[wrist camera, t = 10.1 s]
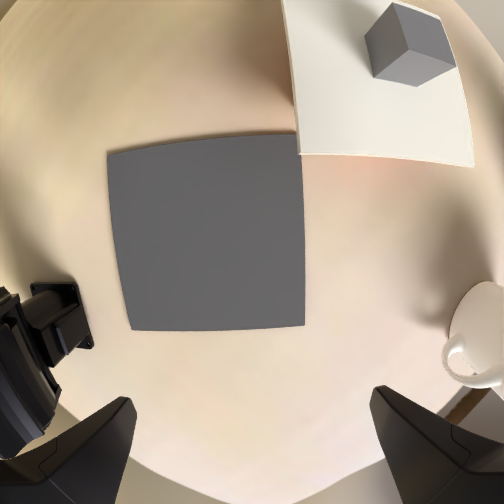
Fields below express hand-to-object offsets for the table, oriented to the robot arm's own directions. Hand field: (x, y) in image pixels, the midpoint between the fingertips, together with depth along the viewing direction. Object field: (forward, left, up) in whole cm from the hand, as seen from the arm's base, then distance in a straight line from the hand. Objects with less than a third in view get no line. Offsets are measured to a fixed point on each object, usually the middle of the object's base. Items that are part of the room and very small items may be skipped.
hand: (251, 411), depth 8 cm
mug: (+22, -6, -12) cm, 26 cm away
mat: (-3, +4, -12) cm, 13 cm away
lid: (+9, +15, -7) cm, 19 cm away
